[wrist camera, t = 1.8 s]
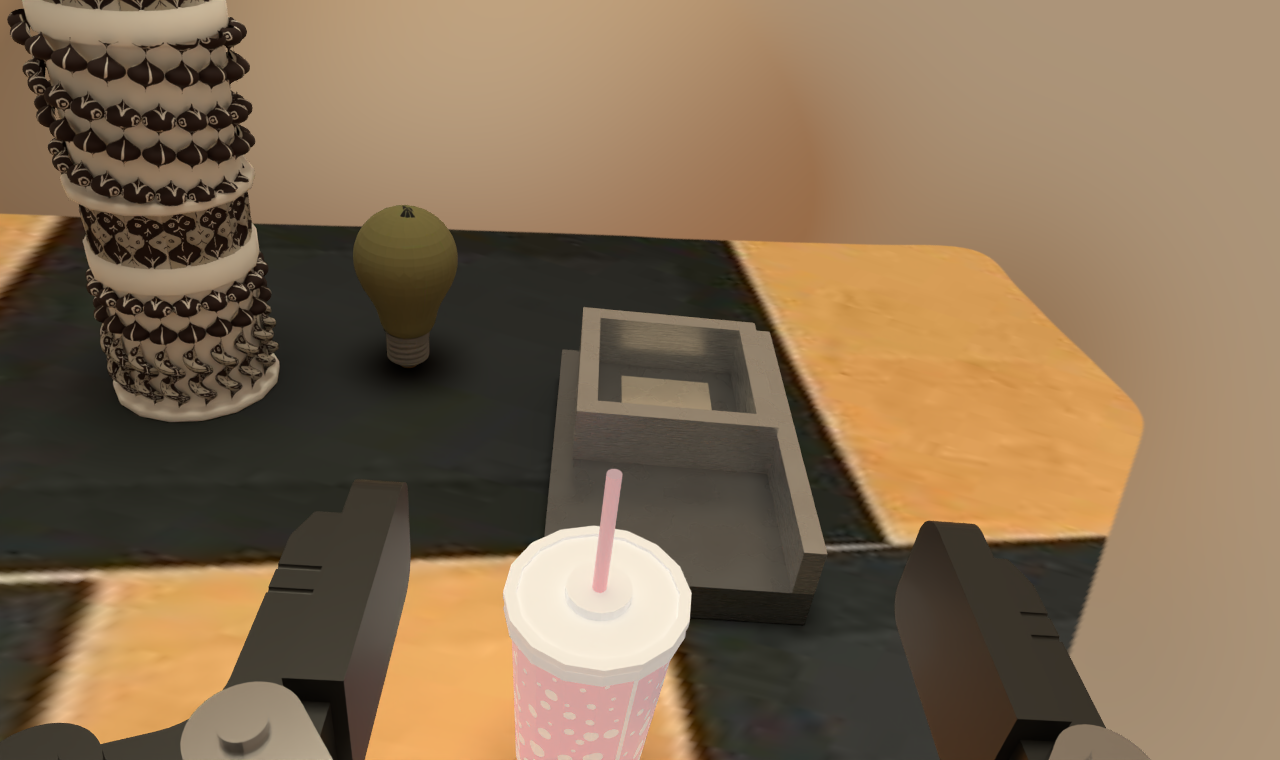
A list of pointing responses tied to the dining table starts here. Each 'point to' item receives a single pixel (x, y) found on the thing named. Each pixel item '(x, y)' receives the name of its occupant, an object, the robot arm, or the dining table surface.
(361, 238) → the light bulb
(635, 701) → the beverage cup
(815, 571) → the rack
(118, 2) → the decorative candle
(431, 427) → the dining table surface
